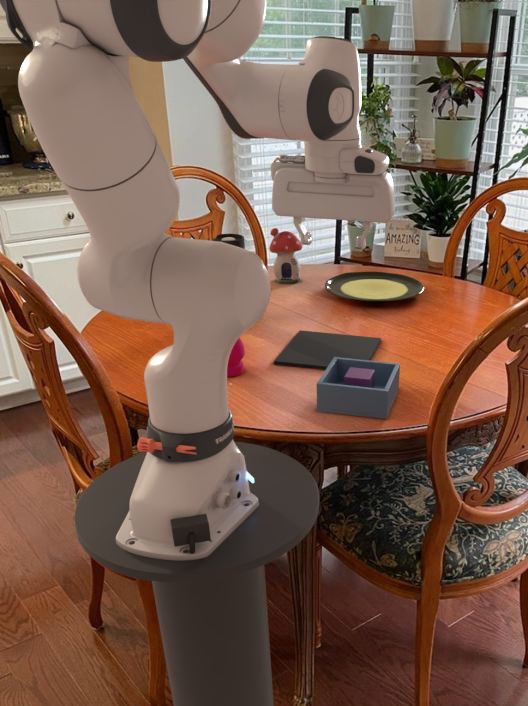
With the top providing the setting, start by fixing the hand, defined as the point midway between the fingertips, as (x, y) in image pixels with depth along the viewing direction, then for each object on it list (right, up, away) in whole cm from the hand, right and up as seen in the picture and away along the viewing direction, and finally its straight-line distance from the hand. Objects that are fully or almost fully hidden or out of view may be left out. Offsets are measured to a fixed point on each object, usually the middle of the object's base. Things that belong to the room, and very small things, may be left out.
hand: (333, 246), depth 120 cm
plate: (+8, +13, +80) cm, 82 cm away
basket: (+4, -24, +21) cm, 32 cm away
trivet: (-2, -10, +42) cm, 43 cm away
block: (+4, -23, +20) cm, 31 cm away
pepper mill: (-23, -16, +32) cm, 43 cm away
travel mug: (-27, +1, +60) cm, 66 cm away
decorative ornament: (-17, +19, +89) cm, 93 cm away
